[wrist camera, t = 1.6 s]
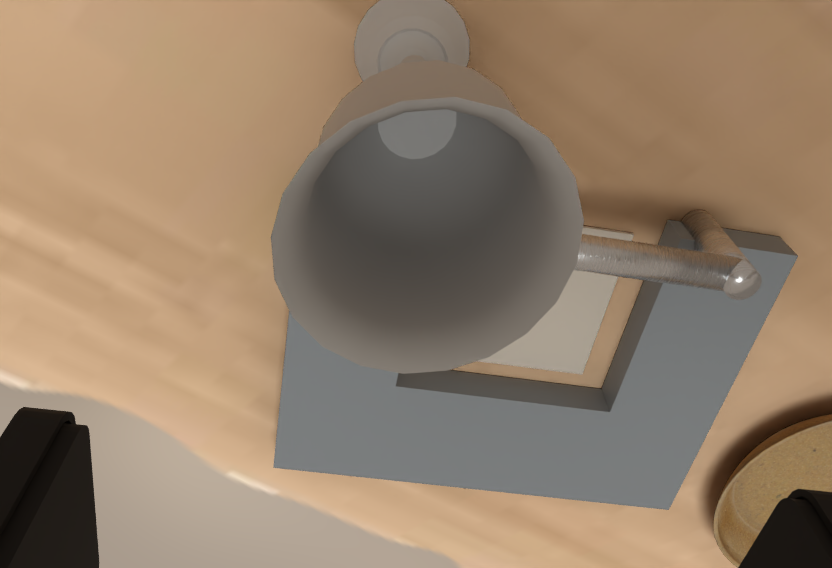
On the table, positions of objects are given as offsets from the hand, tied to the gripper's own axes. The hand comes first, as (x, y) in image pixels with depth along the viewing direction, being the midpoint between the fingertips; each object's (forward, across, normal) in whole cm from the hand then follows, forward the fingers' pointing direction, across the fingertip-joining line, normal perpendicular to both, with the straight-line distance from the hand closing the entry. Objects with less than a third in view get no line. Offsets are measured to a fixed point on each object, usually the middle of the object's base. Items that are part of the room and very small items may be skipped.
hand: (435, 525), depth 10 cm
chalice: (+26, 0, 0) cm, 26 cm away
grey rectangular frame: (+26, -8, +15) cm, 31 cm away
